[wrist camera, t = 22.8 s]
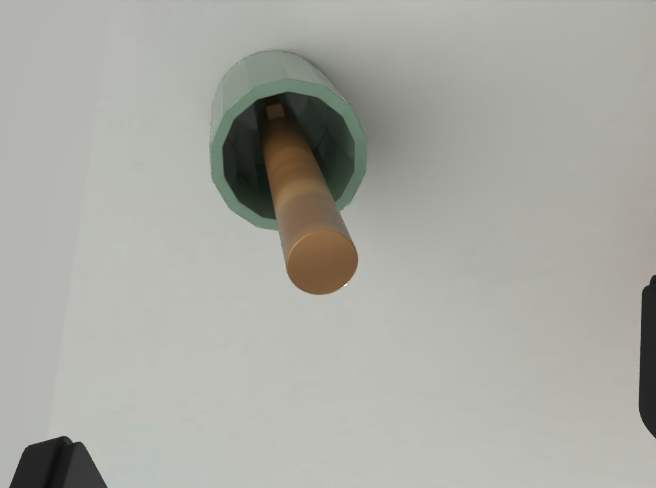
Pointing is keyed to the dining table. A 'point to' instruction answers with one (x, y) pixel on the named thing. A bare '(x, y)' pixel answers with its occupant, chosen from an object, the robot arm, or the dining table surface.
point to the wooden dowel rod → (303, 205)
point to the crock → (313, 116)
